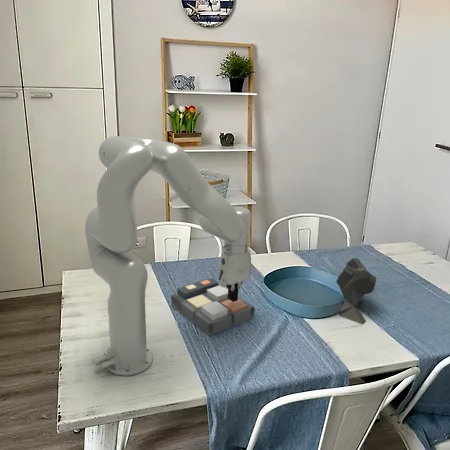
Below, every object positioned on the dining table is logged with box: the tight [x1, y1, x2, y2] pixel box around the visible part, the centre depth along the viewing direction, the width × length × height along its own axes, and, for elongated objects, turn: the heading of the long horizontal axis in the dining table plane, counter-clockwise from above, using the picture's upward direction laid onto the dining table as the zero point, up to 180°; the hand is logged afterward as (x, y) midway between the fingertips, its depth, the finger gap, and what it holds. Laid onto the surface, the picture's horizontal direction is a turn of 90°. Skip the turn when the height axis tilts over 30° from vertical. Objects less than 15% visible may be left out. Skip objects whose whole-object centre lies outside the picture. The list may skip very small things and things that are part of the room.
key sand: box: [187, 295, 212, 310], centre depth 143 cm, size 6×6×3 cm
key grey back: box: [207, 285, 228, 303], centre depth 147 cm, size 6×6×3 cm
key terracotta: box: [221, 299, 247, 314], centre depth 142 cm, size 6×6×3 cm
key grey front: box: [201, 301, 228, 321], centre depth 136 cm, size 6×6×3 cm
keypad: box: [170, 277, 255, 337], centre depth 144 cm, size 18×22×7 cm
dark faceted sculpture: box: [336, 257, 377, 325], centre depth 147 cm, size 14×15×18 cm
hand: (232, 299), depth 140 cm, fingers closed
